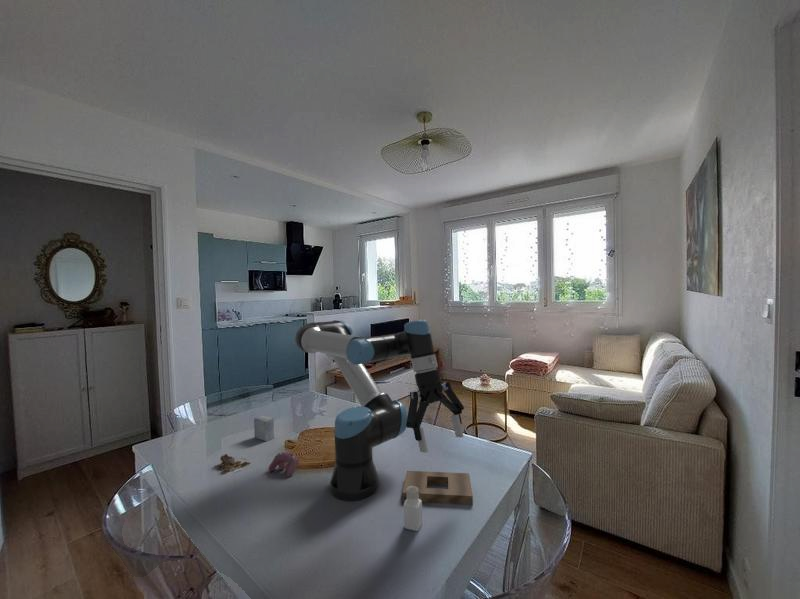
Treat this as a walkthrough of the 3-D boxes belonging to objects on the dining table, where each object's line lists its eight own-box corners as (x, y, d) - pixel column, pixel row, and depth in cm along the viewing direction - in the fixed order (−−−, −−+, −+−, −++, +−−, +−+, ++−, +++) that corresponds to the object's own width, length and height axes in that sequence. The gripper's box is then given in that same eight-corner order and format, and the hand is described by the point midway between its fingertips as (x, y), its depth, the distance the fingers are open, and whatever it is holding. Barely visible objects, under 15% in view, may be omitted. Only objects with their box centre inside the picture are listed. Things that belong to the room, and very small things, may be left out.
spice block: (402, 500, 95) (402, 492, 95) (407, 478, 107) (407, 470, 107) (472, 504, 92) (472, 496, 92) (469, 481, 104) (469, 473, 104)
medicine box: (274, 438, 141) (274, 418, 141) (265, 442, 137) (265, 421, 137) (263, 434, 145) (262, 414, 145) (254, 438, 141) (253, 418, 141)
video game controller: (296, 477, 112) (302, 455, 114) (287, 477, 108) (294, 454, 111) (275, 471, 116) (281, 450, 119) (266, 471, 112) (272, 449, 115)
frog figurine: (204, 472, 114) (204, 461, 114) (235, 457, 125) (235, 447, 125) (226, 479, 109) (225, 468, 109) (256, 463, 120) (255, 452, 120)
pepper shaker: (403, 529, 83) (402, 492, 83) (408, 519, 87) (407, 483, 87) (418, 532, 82) (417, 495, 82) (423, 522, 85) (422, 486, 85)
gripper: (398, 378, 88) (415, 460, 85) (464, 361, 102) (481, 431, 98) (385, 380, 95) (400, 456, 91) (449, 364, 108) (464, 430, 104)
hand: (442, 444), depth 95 cm, fingers open, 13 cm apart
